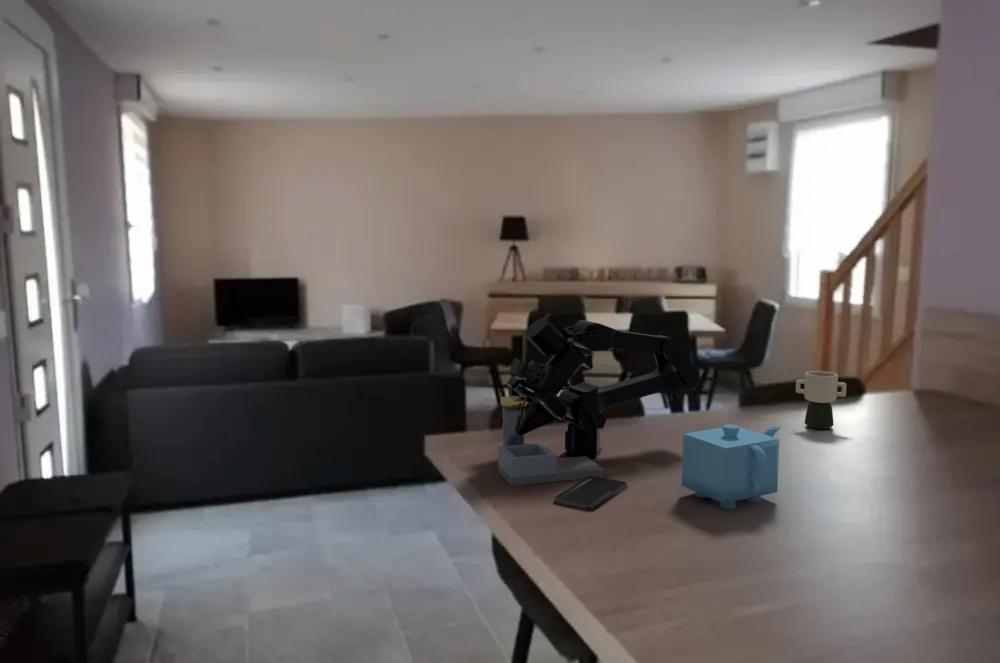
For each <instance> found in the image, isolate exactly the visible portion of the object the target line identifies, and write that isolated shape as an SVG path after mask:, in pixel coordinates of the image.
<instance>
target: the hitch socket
mask: <svg viewBox="0 0 1000 663" xmlns="http://www.w3.org/2000/svg"><path fill="white" fill-rule="evenodd" d="M497 472H498V473H499V475H501V477H503V478H504V480H505V481H506V482H507V483H508V485H510V486H511V487H513V486H522V485H532V484H542V483H543V484H544V483H553V482H561V481H562V482H564V481H572V480H573V481H574V480H584V479H586V478H588V477H590V476H597V477H602V478H605V477H604V476H605V475H604V474H605V468H603V467H602V466H600V465H599V464H598V463H596V462H595V461H594V460H593V459H592V458H588V457H587V456H581V457H574V456H569V457H561V458H557V454H556V453H554V452H553V451H552V450H550V448H548V447H546V446H545V444H543V443H542V442H538V443H537V442H536V443H526V444H523V445H511V446H503V445H502V446H501V445H500V446H497Z"/></svg>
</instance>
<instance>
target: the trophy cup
mask: <svg viewBox="0 0 1000 663" xmlns="http://www.w3.org/2000/svg"><path fill="white" fill-rule="evenodd" d="M801 384H803V385H804V389H803V388H801ZM838 387H840V388H841V391H840V392H839V391H838ZM795 392H796V393H797V394H803V396H804V399H805V400H806V401H809V403H808V404H807V408H806V412H805V416H804V424H805V425H806V426H807V427H811V428H814V429H829V428H832V427H834V416H833V413H834V412H833V406H832V404H831V403H834V402H836V400H837V397H843V398H844V397H846V395H847V383H846V382H843V381H842V382H841V381H840V382H839V375H838V373H835V372H831V371H822V370H813V371H806V372H805V374H804V379H796V381H795Z"/></svg>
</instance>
